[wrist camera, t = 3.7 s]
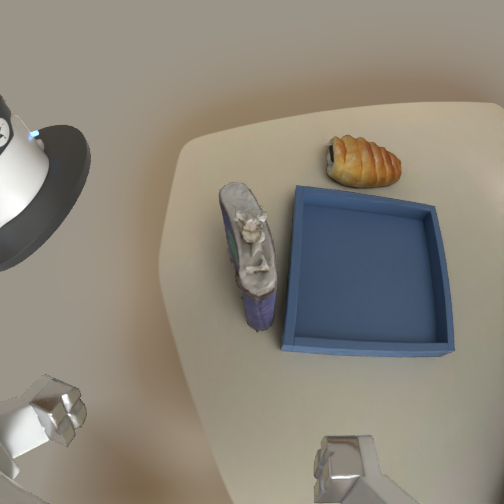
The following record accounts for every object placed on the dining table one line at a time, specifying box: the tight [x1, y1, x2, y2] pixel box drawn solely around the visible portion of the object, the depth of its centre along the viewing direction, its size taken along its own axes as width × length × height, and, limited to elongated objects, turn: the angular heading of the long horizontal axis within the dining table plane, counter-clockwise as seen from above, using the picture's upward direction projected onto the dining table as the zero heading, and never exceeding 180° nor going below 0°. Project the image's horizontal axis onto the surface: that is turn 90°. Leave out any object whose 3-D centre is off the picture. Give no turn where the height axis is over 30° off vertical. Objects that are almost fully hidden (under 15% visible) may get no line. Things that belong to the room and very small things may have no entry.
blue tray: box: [281, 185, 455, 357], centre depth 27 cm, size 16×16×3 cm
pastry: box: [327, 135, 401, 188], centre depth 32 cm, size 9×7×4 cm
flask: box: [219, 182, 278, 332], centre depth 23 cm, size 9×3×11 cm, turn 14°
